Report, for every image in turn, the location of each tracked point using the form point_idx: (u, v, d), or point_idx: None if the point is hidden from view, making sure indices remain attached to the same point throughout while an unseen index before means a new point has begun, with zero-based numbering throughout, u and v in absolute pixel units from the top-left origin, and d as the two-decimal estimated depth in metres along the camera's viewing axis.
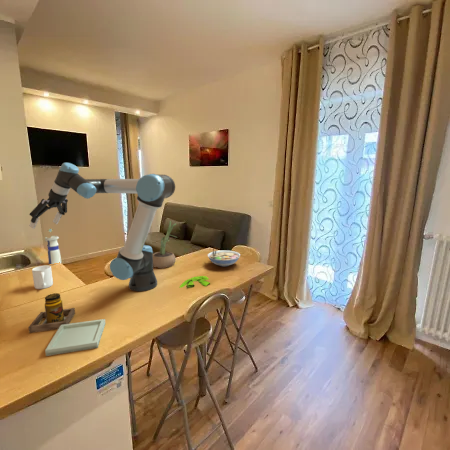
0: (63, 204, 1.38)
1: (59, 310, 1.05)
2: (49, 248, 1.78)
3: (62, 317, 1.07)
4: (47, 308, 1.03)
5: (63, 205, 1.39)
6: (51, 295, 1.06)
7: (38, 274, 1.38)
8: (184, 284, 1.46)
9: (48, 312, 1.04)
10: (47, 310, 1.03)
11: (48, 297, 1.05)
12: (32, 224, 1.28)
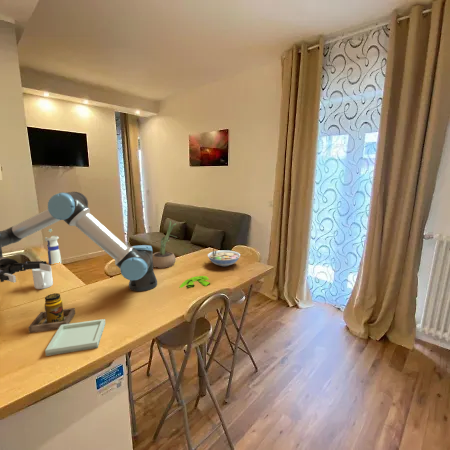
0: None
1: (59, 310, 1.05)
2: (49, 248, 1.78)
3: (62, 317, 1.07)
4: (47, 308, 1.03)
5: None
6: (51, 295, 1.06)
7: (38, 274, 1.38)
8: (184, 284, 1.46)
9: (48, 312, 1.04)
10: (47, 310, 1.03)
11: (48, 297, 1.05)
12: (10, 278, 1.02)
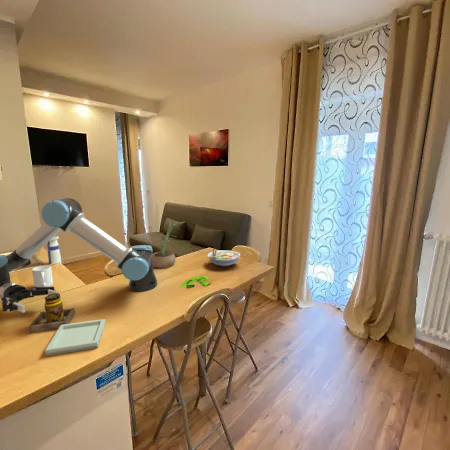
0: (39, 290, 1.19)
1: (59, 310, 1.05)
2: (49, 248, 1.78)
3: (62, 317, 1.07)
4: (47, 308, 1.03)
5: None
6: (51, 295, 1.06)
7: (38, 274, 1.38)
8: (184, 284, 1.46)
9: (48, 312, 1.04)
10: (47, 310, 1.03)
11: (48, 297, 1.04)
12: (20, 308, 1.02)
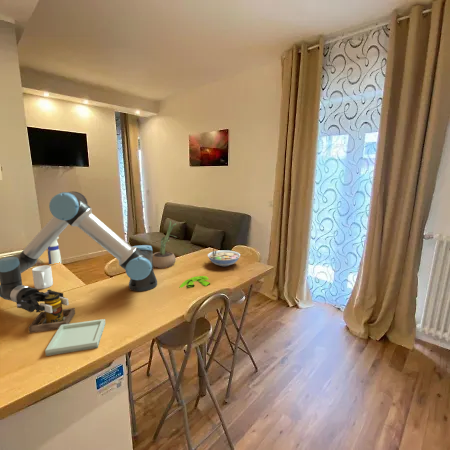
0: None
1: (58, 310, 1.05)
2: (49, 248, 1.78)
3: (61, 317, 1.07)
4: None
5: None
6: (50, 295, 1.06)
7: (38, 274, 1.38)
8: (184, 284, 1.46)
9: (47, 312, 1.03)
10: None
11: (48, 297, 1.04)
12: (47, 309, 1.01)
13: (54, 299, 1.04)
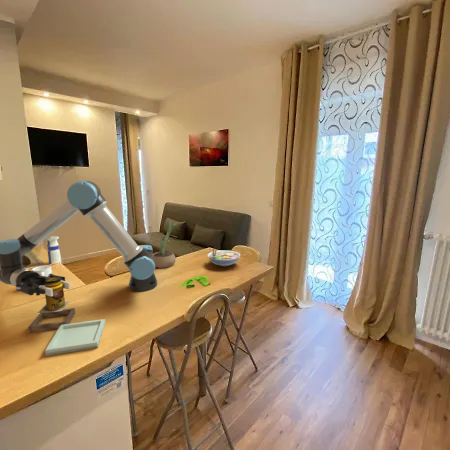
0: None
1: (59, 294, 0.99)
2: (49, 248, 1.78)
3: (63, 302, 1.01)
4: None
5: None
6: (51, 278, 1.00)
7: None
8: (184, 284, 1.46)
9: (48, 296, 0.97)
10: None
11: (48, 280, 0.98)
12: (47, 292, 0.95)
13: (55, 282, 0.98)
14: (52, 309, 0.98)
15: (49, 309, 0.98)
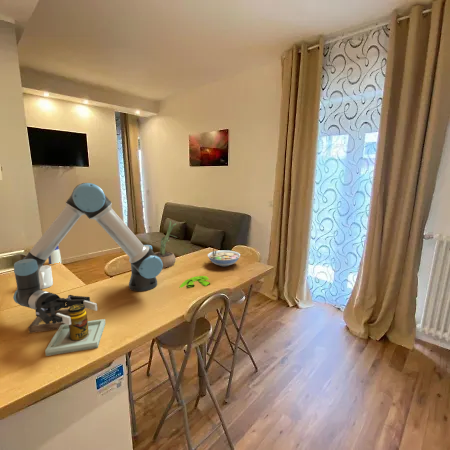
0: None
1: (83, 323, 0.94)
2: None
3: (87, 331, 0.96)
4: (71, 321, 0.92)
5: None
6: (75, 306, 0.95)
7: None
8: (184, 284, 1.46)
9: (72, 325, 0.92)
10: (71, 323, 0.92)
11: (72, 308, 0.93)
12: (65, 320, 0.89)
13: (79, 310, 0.93)
14: (76, 339, 0.93)
15: (73, 339, 0.93)
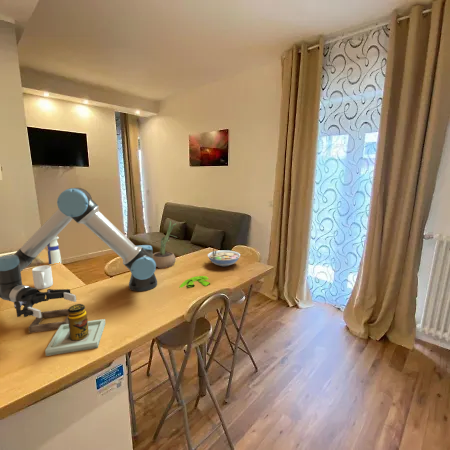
0: None
1: (83, 323, 0.94)
2: (49, 248, 1.78)
3: (87, 331, 0.96)
4: (71, 321, 0.92)
5: None
6: (75, 306, 0.95)
7: (38, 274, 1.38)
8: (184, 284, 1.46)
9: (72, 325, 0.92)
10: (71, 323, 0.92)
11: (72, 308, 0.93)
12: (35, 313, 0.93)
13: (79, 310, 0.93)
14: (76, 339, 0.93)
15: (73, 339, 0.93)
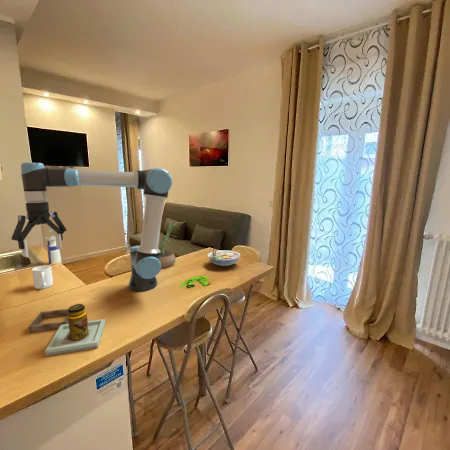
0: (55, 220, 1.12)
1: (83, 323, 0.94)
2: (49, 248, 1.78)
3: (87, 331, 0.96)
4: (71, 321, 0.92)
5: (56, 221, 1.12)
6: (75, 306, 0.95)
7: (38, 274, 1.38)
8: (184, 284, 1.46)
9: (72, 325, 0.92)
10: (71, 323, 0.92)
11: (72, 308, 0.93)
12: (24, 252, 1.02)
13: (79, 310, 0.93)
14: (76, 339, 0.93)
15: (73, 339, 0.93)
